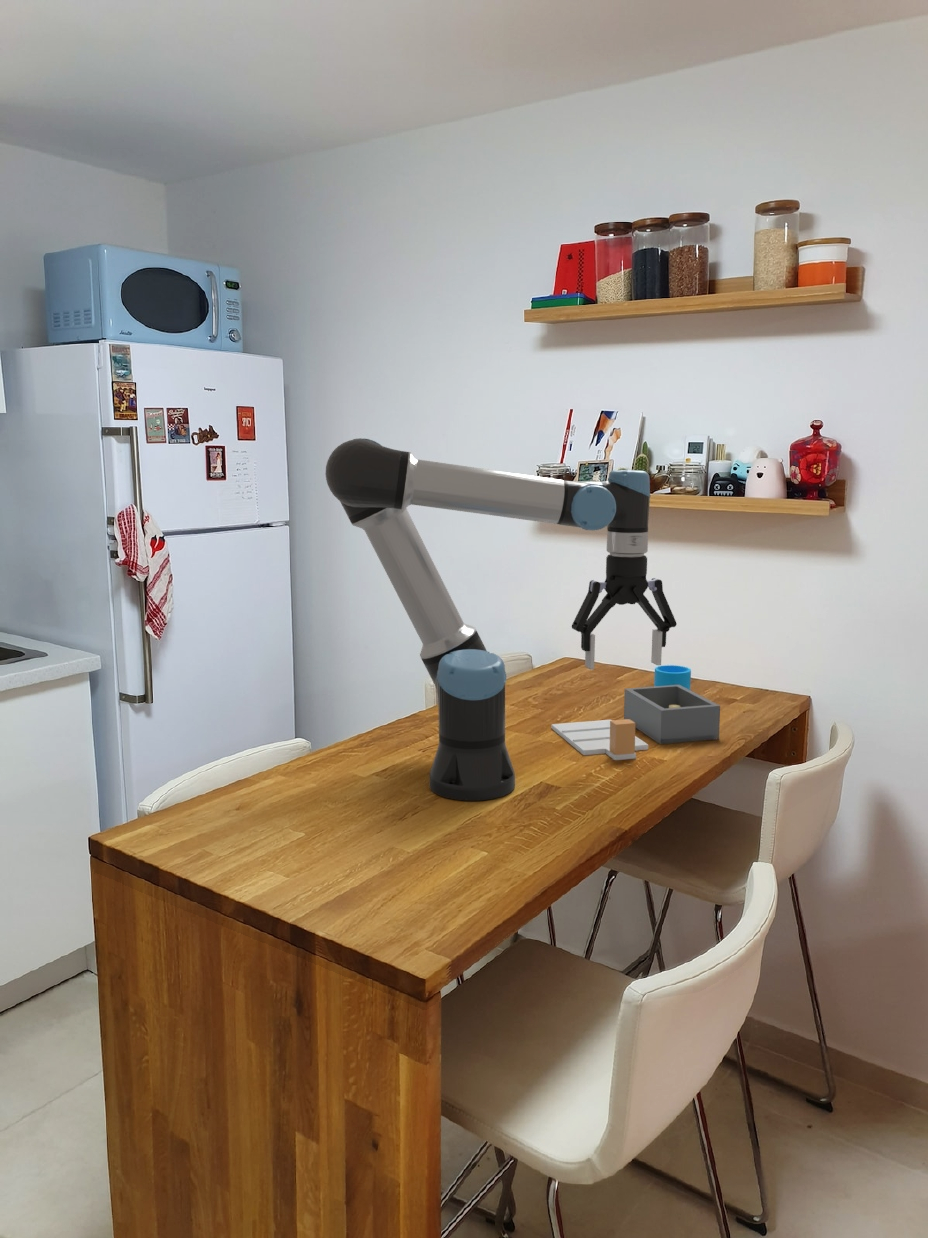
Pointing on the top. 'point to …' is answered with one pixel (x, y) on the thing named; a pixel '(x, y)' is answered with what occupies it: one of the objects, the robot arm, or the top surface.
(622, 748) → the lid
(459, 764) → the robot arm
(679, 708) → the tub
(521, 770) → the top surface
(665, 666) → the mug
